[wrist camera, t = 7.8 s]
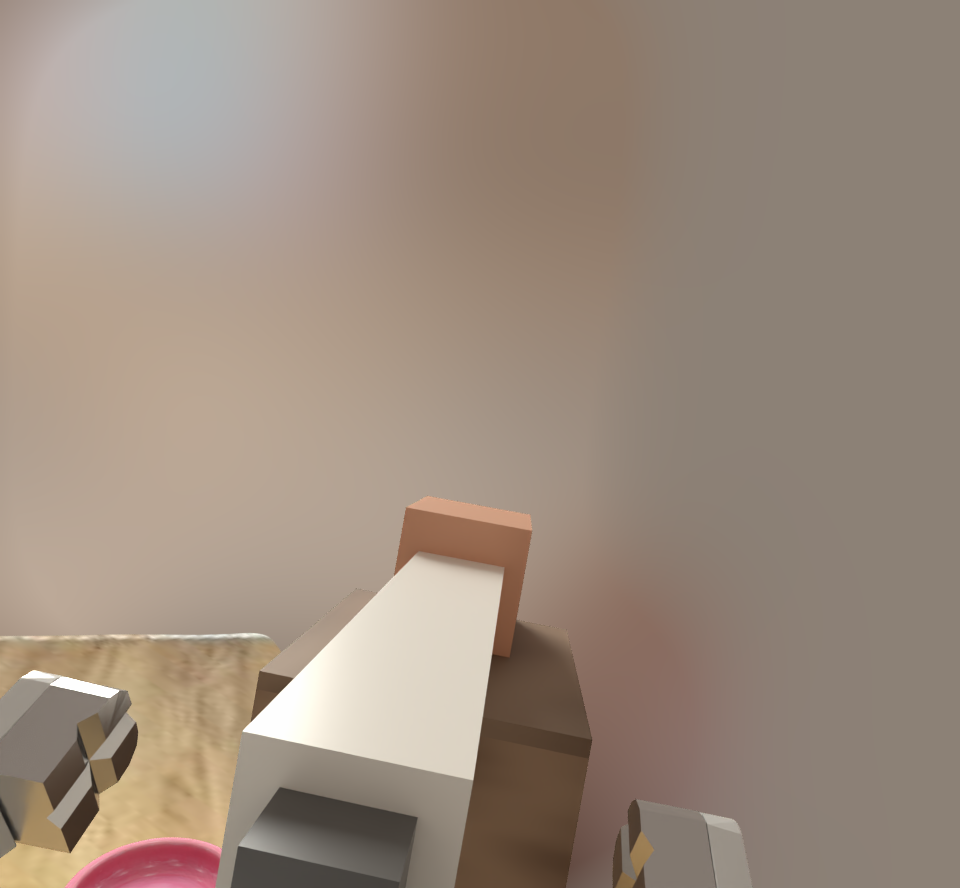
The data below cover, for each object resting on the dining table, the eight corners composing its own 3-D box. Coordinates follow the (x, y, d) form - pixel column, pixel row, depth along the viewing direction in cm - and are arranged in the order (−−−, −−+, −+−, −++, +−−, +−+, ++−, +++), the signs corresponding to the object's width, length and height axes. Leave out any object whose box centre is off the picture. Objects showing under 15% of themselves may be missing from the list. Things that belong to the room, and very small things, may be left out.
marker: (87, 1033, 7) (155, 642, 7) (409, 598, 27) (427, 495, 27) (480, 1131, 7) (553, 722, 7) (512, 618, 27) (530, 514, 27)
